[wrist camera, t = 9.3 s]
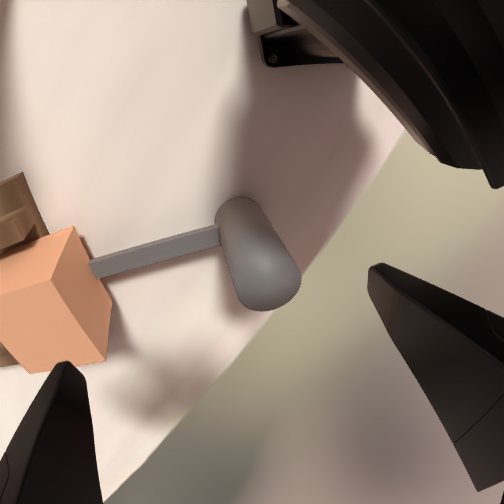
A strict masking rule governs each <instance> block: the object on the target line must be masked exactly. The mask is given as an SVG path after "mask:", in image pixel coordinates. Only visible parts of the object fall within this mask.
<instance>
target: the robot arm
mask: <svg viewBox="0 0 504 504" xmlns="http://www.w3.org/2000/svg"><path fill="white" fill-rule="evenodd" d="M247 6H248V12H249V18H250V23H251V29H252V33H253V34H254V35H255V36H258V37H259V43H260V49H261V56H262V61H263V63H264V64H265V65H266V66H267V67H283V66H294V65H307V64H325V63H345V64H346V65H347V66H348V67H349V68H350V69H351V70H352V71H353V72H354V73H355V74H356V75H357V76H358V77H359V78H360V79H361V80H362V81H363V82H364V83H365V84H366V85H367V86H368V87H369V88H370V89H371V90H372V91H373V92H374V93H375V94H376V95H377V96H378V97H379V99H380V100H381V101H382V102H383V103H384V104H385V105H386V106H387V107H388V109H389V110H390V111H391V112H392V113H393V114H394V116H395V117H396V118H397V119H398V120H399V121H400V123H401V124H402V125H403V126H404V127H405V129H406V130H407V131H408V132H409V134H410V135H411V136H412V137H413V139H414V140H415V141H416V142H417V143H418V144H420V145H421V146H422V147H423V148H424V149H426V150H427V151H428V152H429V153H430V154H432V155H434V156H435V157H436V158H437V159H438V161H439V162H441V163H443V164H446V165H449V166H452V167H455V168H463V169H477V170H479V169H483V171H484V173H485V176H486V178H487V180H488V182H489V184H490V186H491V188H493V189H498V188H500V187H502V186H504V0H247ZM270 55H274V56H275V58H276V60H275V62H274V63H271V62H270V61H269V56H270ZM367 288H368V293H369V296H370V298H371V300H372V302H373V304H374V306H375V308H376V310H377V312H378V314H379V316H380V317H381V320H382V322H383V323H384V325H385V328H386V329H387V332H388V334H389V335H390V337H391V339H392V341H393V342H394V344H395V346H396V347H397V349H398V350H399V352H400V353H401V355H402V357H403V358H404V360H405V361H406V363H407V365H408V366H409V368H410V369H411V371H412V373H413V374H414V376H415V378H416V379H417V381H418V383H419V384H420V386H421V388H422V390H423V391H424V393H425V395H426V396H427V398H428V400H429V401H430V403H431V405H432V407H433V408H434V410H435V412H436V414H437V415H438V417H439V419H440V421H441V423H442V424H443V426H444V428H445V430H446V432H447V433H448V435H449V437H450V439H451V441H452V443H454V444H453V445H454V447H455V449H456V451H457V452H458V454H459V456H460V458H461V460H462V462H463V464H464V466H465V468H466V470H467V472H468V474H469V476H470V478H471V480H472V482H473V484H474V486H475V488H476V490H477V491H478V492H479V491H482V490H484V489H486V488H489V487H491V486H493V485H495V484H498V483H500V482H502V481H504V318H503V317H501V316H499V315H497V314H495V313H493V312H491V311H488V310H486V309H484V308H482V307H480V306H478V305H476V304H474V303H472V302H469V301H467V300H465V299H463V298H461V297H459V296H457V295H455V294H452V293H450V292H448V291H446V290H443V289H441V288H439V287H437V286H435V285H433V284H430V283H428V282H426V281H424V280H422V279H419V278H417V277H415V276H413V275H410V274H408V273H406V272H404V271H401V270H399V269H397V268H394V267H392V266H390V265H388V264H385V263H378V264H376V265H374V266H371V267H370V268H369V271H368V286H367ZM0 504H103V500H102V494H101V489H100V483H99V476H98V469H97V461H96V453H95V444H94V433H93V424H92V418H91V412H90V405H89V398H88V391H87V383H86V379H85V377H84V375H83V374H82V373H81V372H80V371H79V370H78V369H77V368H76V367H75V366H74V365H73V364H72V363H71V362H70V361H67V360H66V361H62V362H58V363H57V364H56V365H55V366H54V368H53V369H52V371H51V373H50V374H49V376H48V377H47V379H46V380H45V382H44V384H43V385H42V387H41V389H40V390H39V392H38V393H37V395H36V397H35V398H34V400H33V402H32V404H31V405H30V407H29V409H28V410H27V412H26V414H25V416H24V417H23V419H22V421H21V423H20V425H19V426H18V428H17V430H16V432H15V434H14V435H13V437H12V439H11V441H10V443H9V445H8V447H7V449H6V452H5V453H4V455H3V457H2V459H1V461H0ZM500 504H504V493H503V496H502V499H501V503H500Z"/></svg>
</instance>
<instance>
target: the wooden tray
mask: <svg viewBox="0 0 504 504" xmlns="http://www.w3.org/2000/svg"><path fill="white" fill-rule="evenodd" d="M47 235H49V232H48V230H47V228H46V226H45V224H44V222H43V220H42V218H41V215H40V213H39V211H38V209H37V206H36V204H35V202H34V199H33V197H32V195H31V192H30V190H29V187H28V185H27V182H26V180H25V177H24V174H23V172H21V173H19V174H17V175H15V176H13V177H11V178H9V179H7V180H5V181H3V182H1V183H0V256H1V254H2V253H3V252H6V251H8V250H11V249H13V248H16V247H18V246H21V245H23V244H26V243H28V242H31V241H34V240H36V239H39V238H42V237H44V236H47ZM16 364H20V363H19V362H18V361H17V360H16V359H15V358H14V357H13V356H12V354H11V353H10V352H9V351H8V350H7V349H6V348H5V346H4V345H3V344H2V343H1V342H0V367H2V366H9V365H16Z"/></svg>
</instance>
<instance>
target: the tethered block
mask: <svg viewBox="0 0 504 504" xmlns="http://www.w3.org/2000/svg"><path fill="white" fill-rule="evenodd" d="M220 245H221V246H222V249H223V252H224V255H225V259H226V262H227V265H228V268H229V271H230V274H231V277H232V280H233V284H234V287H235V290H236V293H237V296H238V299H239V301H240V302H241V303H242V304H243V305H244V306H245V307H246V308H248V309H251V310H254V311H270V310H273V309H276V308H279V307H281V306H283V305H284V304H286V303H287V302H289V301H290V300H291V299H292V298H293V297H294V296H295V295H296V293H297V291H298V290H299V288H300V285H301V273H300V271H299V269H298V267H297V265H296V264H295V262H294V261H293V259H292V257H291V256H290V254H289V253H288V251H287V249H286V248H285V246H284V244H283V243H282V241H281V240H280V238H279V236H278V235H277V233H276V232H275V230H274V229H273V227H272V225H271V224H270V222H269V221H268V219H267V217H266V216H265V214H264V213H263V211H262V210H261V208H260V206H259V205H258V204H257V203H256V202H255V201H253V200H251V199H249V198H243V197H239V198H234V199H231V200H229V201H227V202H225V203H224V204H223V205H222V206H221V207H220V208H219V210H218V211H217V213H216V216H215V225H212V226H208V227H204V228H201V229H197V230H193V231H189V232H186V233H182V234H178V235H175V236H171V237H167V238H164V239H160V240H157V241H153V242H150V243H146V244H143V245H139V246H136V247H132V248H129V249H125V250H122V251H118V252H115V253H112V254H108V255H105V256H101V257H98V258H95V259H91V260H90V259H89V257H88V255H87V253H86V250H85V248H84V246H83V244H82V242H81V240H80V238H79V236H78V234H77V231H76V229H75V227H74V226H72V227H69V228H66V229H64V230H61V231H58V232H55V233H52V234H50V235H47V236H44V237H42V238H39V239H36V240H34V241H31V242H28V243H26V244H23V245H21V246H18V247H16V248H13V249H11V250H8V251H6V252H3V253H2V254H1V256H0V342H1V343H2V344H3V345H4V346H5V348H6V349H7V350H8V351H9V352H10V353H11V354H12V356H13V357H14V358H15V359H16V360H17V361H18V362H19V363H20V364H21V365H22V367H23V368H24V369H25V370H26V371H27V372H28V373H29V374H33V373H39V372H46V371H52V369H53V368H54V366H55V365H56V364H57V363H58V362H62V361H66V360H67V361H70V362H71V363H72V364H73V365H74V366H75V367H77V366H82V365H88V364H93V363H99V362H104V361H106V357H107V345H108V335H109V326H110V317H111V309H112V300H111V298H110V297H109V295H108V293H107V291H106V289H105V288H104V286H103V284H102V282H101V280H100V278H103V277H106V276H110V275H113V274H117V273H120V272H124V271H128V270H131V269H135V268H138V267H142V266H146V265H149V264H153V263H157V262H160V261H164V260H168V259H171V258H175V257H179V256H182V255H186V254H190V253H193V252H197V251H201V250H205V249H208V248H212V247H216V246H220Z"/></svg>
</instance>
